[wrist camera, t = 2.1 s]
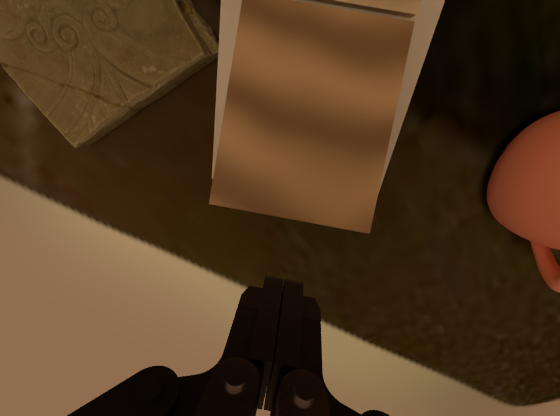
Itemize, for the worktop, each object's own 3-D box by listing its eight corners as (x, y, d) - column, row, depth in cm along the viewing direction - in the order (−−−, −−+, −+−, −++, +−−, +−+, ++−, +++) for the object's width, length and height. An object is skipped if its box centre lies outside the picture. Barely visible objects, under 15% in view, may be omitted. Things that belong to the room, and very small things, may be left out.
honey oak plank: (246, 5, 21) (243, -9, 20) (405, 33, 21) (414, 21, 20) (214, 202, 23) (209, 203, 21) (364, 230, 22) (369, 233, 21)
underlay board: (234, -129, 19) (228, -143, 18) (468, -90, 19) (479, -102, 18) (216, 173, 29) (211, 178, 28) (370, 201, 29) (373, 208, 28)
